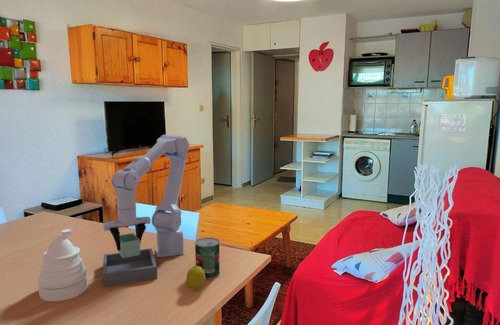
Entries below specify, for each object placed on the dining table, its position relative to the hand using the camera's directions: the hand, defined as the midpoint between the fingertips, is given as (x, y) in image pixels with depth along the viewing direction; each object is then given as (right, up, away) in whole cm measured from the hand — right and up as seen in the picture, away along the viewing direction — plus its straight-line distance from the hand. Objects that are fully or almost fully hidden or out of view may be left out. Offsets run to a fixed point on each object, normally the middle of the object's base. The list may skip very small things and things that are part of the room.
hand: (128, 247), depth 121 cm
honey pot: (-16, -10, -11) cm, 22 cm away
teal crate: (0, -2, +1) cm, 2 cm away
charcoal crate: (0, -8, +1) cm, 8 cm away
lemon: (+24, -11, -11) cm, 28 cm away
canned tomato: (+26, -9, 0) cm, 27 cm away
